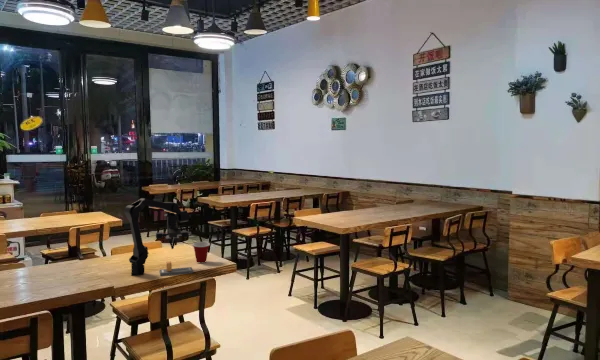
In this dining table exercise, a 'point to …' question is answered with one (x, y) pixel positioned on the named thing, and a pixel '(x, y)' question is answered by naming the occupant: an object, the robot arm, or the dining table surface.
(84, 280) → the dining table surface
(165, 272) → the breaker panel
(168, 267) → the handle
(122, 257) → the dining table surface
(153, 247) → the dining table surface
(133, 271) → the robot arm
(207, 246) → the plastic cup
